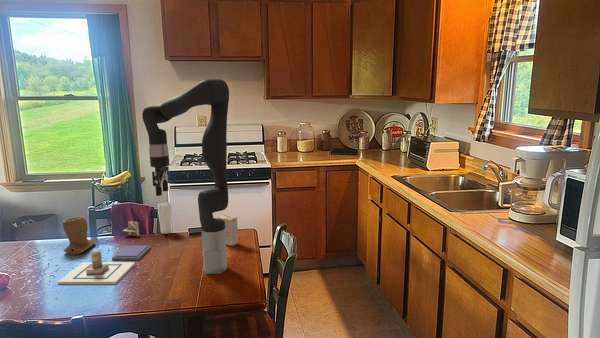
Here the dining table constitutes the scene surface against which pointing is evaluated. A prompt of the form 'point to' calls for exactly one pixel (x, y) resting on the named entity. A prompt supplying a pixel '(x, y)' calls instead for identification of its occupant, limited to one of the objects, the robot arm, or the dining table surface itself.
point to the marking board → (107, 277)
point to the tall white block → (165, 217)
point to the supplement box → (230, 229)
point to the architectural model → (132, 228)
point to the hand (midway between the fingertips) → (162, 193)
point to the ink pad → (131, 253)
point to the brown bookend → (77, 235)
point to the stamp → (97, 264)
